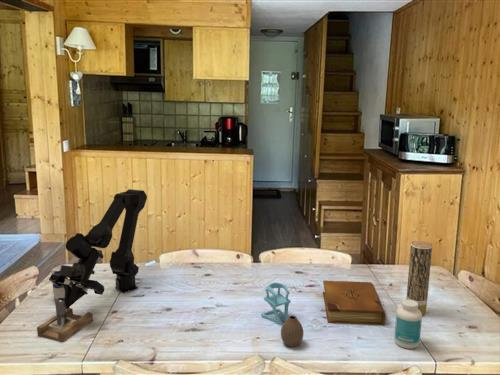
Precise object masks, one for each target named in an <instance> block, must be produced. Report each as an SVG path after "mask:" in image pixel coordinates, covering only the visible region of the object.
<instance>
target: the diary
mask: <svg viewBox="0 0 500 375" xmlns="http://www.w3.org/2000/svg"><path fill="white" fill-rule="evenodd" d="M322 282H323V288H324V289H323V290H324V291H322V296H323V302H324V308H325V314H326V320H327V324H345V325H365V326H385V325H386V315H387V314H386V311H385V309H384V307H383V304H382V302H381V300H380V297H379V295H378V293H377V290H376V288H375V285H374V284H373V282H372V281H370V282H369V281H351V280H350V281H345V280H323V281H322Z"/></svg>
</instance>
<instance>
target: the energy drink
mask: <svg viewBox="0 0 500 375" xmlns="http://www.w3.org/2000/svg"><path fill="white" fill-rule="evenodd" d="M60 269H61V265H57V266H53V267H52V268H51V275H52V274H54V273H56V274H59V273H60ZM64 276H65V277H66V278H68V277H67V276H66V275H64ZM68 279H69V278H68ZM51 283H52V282H51ZM51 285H52V293H53V294H52V295H53V301H55V300H56V299H58V298H65V289H64V287H59V286H57V285H55V284H54V283H52V284H51Z"/></svg>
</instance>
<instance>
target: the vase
mask: <svg viewBox="0 0 500 375" xmlns="http://www.w3.org/2000/svg"><path fill="white" fill-rule="evenodd" d="M280 338H281V340H282V342H283V343H284V344H285V345H286V346H287V347H289V348H295V347H298V346H299V345H300V344H301V343H302V341H303V338H304V328H303V325H302V324H301V321H299V320H298V318H297V317H296V316H295V315H289V316H288V318H287V320H286V321H285V322H284V321H283V324H281V328H280Z"/></svg>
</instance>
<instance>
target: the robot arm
mask: <svg viewBox="0 0 500 375" xmlns="http://www.w3.org/2000/svg"><path fill="white" fill-rule="evenodd" d="M147 199H148V195H147V193H146V192H145V190H143V189H142V190H141V189H130V188H129V189H127V190H126V191H122V192H121V191H120V192H119V193H116V194H115V195H114V196H113V200H112V202H111V203H110V205H109V207H108V208H107V210H106V212H105V213H104V215H103V216H102V218H101V220H100V221H99V223H98V224H96V225H94V226H92V227H91V229H90V230H89V231H88V232H87V234H86V235H84V234H83V233H80V232H76V234H75V235H74V236H71V237H70V238H69V239H68V240H67V241H66V243H65V249H66V251H68V252H69V253H70V254H71V255H73V256H74V257H75V258H77V259H78V261H77V262H74V263H72V266H71V265H66V264H65V265H63V264H61V265H60V266H61V269H60V273H59V274H56V273H54V274H51V275H50V276H49V279H48V281H50V282H51V283H54V284H55V285H57V286H59V287H64V289H65V302H66V309H68V308H71V306H73V305H74V304H75V303H76V302H78V300H80V299H81V298H83V296H85V295H88V290H93V292H94V294H95V295H101V296H103V294H104V292H105V286H104V285H103V284H102V283H100V282H99V281H98V280H94V279H90V277H91V275H94V274H95V273H96V271H95V270H94V269H95V268H96V265H97V263H98V260H99V259H104V254H103V251H102V250H101V249H105V248H106V249H107V247H108V246H109V244H110V243H111V240H112V239H113V230H114V227H115V225H116V224H117V222H118V220H119V219H120V217H121V216H122V215H123V214H122V213H123V212H124V210H125V213H124V214H125V215H124V219H123V224H122V229H121V232H120V239H119V243H118V247H117V249H116V250H115V251H111V254H110V260H109V268H110V270H111V272H112V274H113V275H115V276H116V278H115V286H114V289H116V290H117V291H119V292H121V293H123V294H124V293H128V292H130V291H133V290H136V289H138V286H137V285H136V276H137V274H138V273H139V269H140V268H139V267H140V266H138V265H137V264H136V263H135V256H134V253H133V251H132V250H133V244H134V239H135V235H136V229H137V224H138V219H139V215H140V213H141V211H142V210H143V209H144V208H145V206H146V203H147ZM98 248H99V249H98ZM64 275H66V276H67V277H68V278H66V277H65V276H64Z"/></svg>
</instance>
